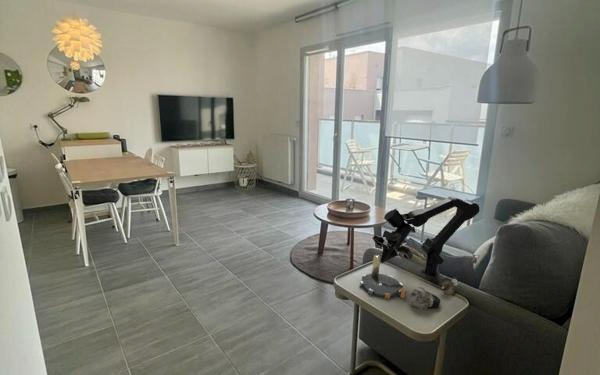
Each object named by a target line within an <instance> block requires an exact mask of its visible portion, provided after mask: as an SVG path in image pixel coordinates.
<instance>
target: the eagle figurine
mask: <svg viewBox="0 0 600 375" xmlns="http://www.w3.org/2000/svg"><path fill="white" fill-rule="evenodd" d="M441 278H442V279H441V280H440V281H439V283H438V287H441V288H442V289H441V290H444V289H445V290H444V291H443V292H442V294H444V295H447V296H452V297H453V296H455V293H456V288H455V287H457V286H458V280H457V279H456V278H450V277H444V275H441ZM454 286H455V287H454Z"/></svg>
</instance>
